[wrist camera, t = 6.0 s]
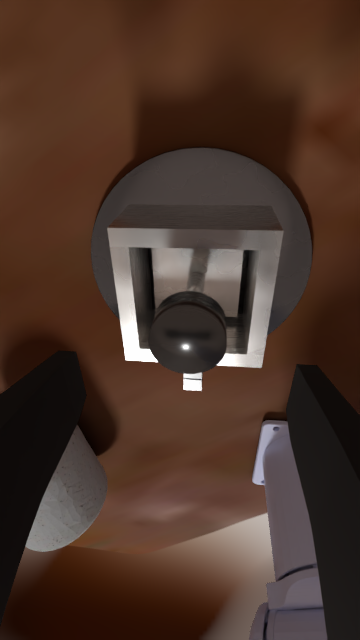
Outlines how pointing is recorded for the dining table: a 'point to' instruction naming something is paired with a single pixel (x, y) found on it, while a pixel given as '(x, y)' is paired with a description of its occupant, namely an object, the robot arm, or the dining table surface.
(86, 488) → the ceramic mug
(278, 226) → the press
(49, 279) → the dining table surface
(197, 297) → the plunger
